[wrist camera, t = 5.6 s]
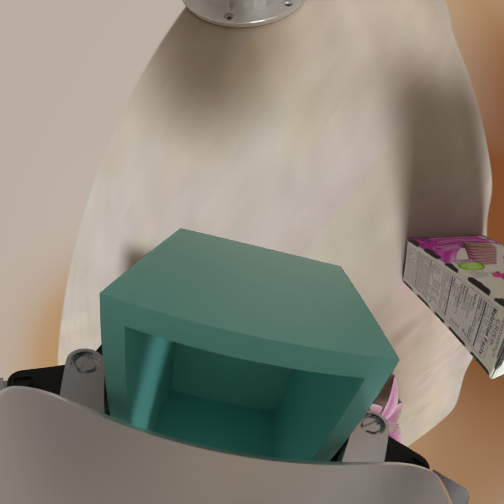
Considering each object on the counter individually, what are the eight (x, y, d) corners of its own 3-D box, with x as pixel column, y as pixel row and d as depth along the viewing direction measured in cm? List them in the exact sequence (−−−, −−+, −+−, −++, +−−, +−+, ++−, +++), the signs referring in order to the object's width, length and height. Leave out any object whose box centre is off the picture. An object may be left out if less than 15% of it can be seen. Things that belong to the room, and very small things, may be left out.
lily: (385, 427, 35) (428, 449, 26) (321, 459, 31) (361, 494, 22) (387, 361, 35) (438, 377, 26) (317, 391, 32) (366, 421, 23)
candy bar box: (482, 231, 25) (588, 286, 9) (476, 273, 26) (568, 343, 10) (404, 234, 25) (518, 313, 10) (399, 282, 27) (490, 385, 11)
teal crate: (180, 228, 11) (99, 293, 5) (340, 266, 11) (399, 359, 5) (162, 385, 13) (123, 476, 8) (281, 412, 14) (283, 509, 8)
